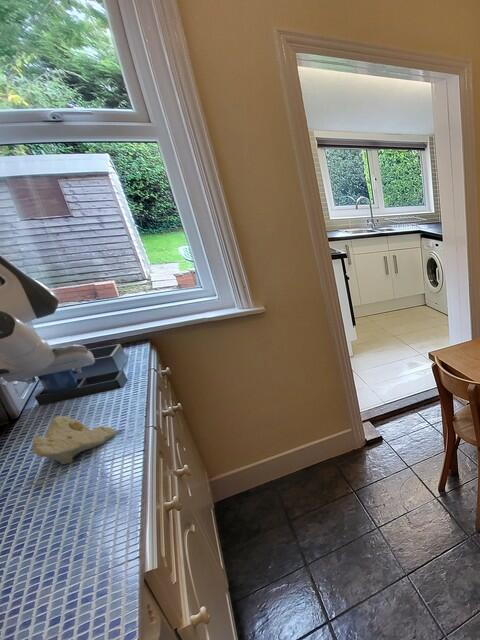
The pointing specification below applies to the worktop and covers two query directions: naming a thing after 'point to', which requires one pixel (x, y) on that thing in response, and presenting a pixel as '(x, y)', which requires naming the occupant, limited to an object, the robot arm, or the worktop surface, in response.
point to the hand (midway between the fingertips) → (55, 376)
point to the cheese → (69, 439)
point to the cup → (58, 381)
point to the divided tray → (85, 387)
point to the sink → (104, 361)
